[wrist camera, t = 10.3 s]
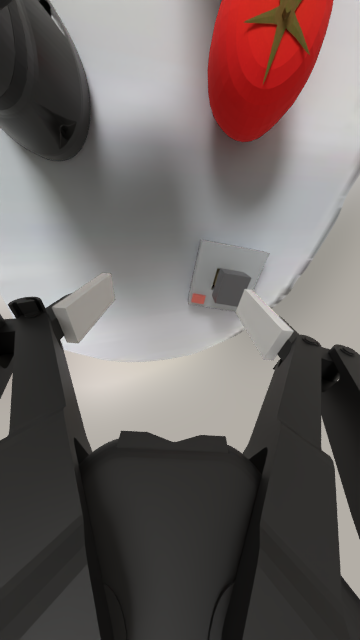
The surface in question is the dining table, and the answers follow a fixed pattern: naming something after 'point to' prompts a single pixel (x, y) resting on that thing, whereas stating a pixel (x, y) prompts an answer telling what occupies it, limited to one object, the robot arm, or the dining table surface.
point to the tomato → (262, 60)
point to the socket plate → (227, 258)
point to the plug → (229, 286)
